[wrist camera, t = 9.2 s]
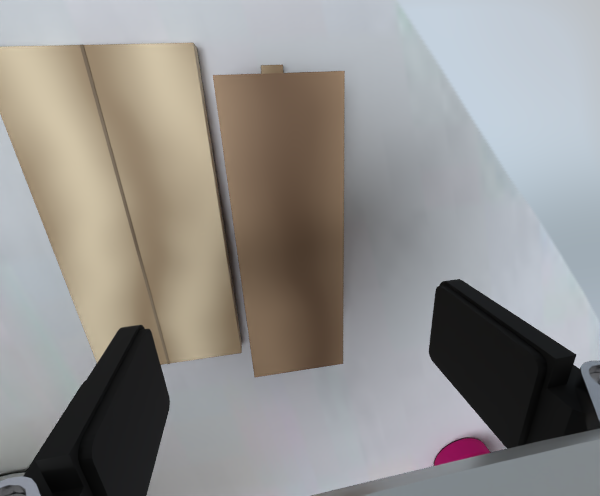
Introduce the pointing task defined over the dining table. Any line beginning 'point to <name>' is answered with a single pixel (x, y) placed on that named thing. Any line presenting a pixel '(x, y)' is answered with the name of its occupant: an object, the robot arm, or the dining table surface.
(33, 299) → the dining table surface
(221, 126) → the brown wooden block
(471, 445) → the pepper mill
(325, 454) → the dining table surface
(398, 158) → the dining table surface
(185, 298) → the board
